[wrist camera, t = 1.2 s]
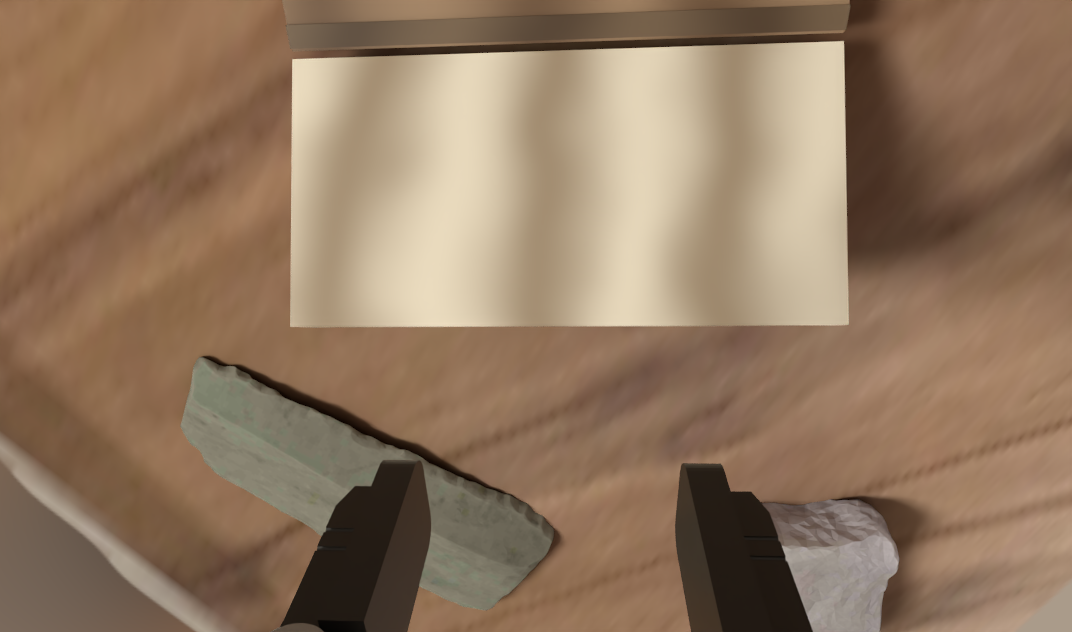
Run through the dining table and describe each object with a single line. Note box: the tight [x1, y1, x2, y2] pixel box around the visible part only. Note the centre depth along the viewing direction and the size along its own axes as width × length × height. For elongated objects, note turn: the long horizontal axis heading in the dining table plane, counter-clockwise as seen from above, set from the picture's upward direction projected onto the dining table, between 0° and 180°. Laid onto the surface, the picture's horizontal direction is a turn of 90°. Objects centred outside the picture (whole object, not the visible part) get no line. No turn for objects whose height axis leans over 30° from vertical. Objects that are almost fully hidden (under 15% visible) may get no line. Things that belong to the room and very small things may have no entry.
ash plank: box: [290, 41, 849, 327], centre depth 23 cm, size 20×10×2 cm, turn 92°
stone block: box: [762, 499, 899, 632], centre depth 37 cm, size 12×5×10 cm
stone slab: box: [180, 357, 554, 610], centre depth 37 cm, size 22×3×10 cm
